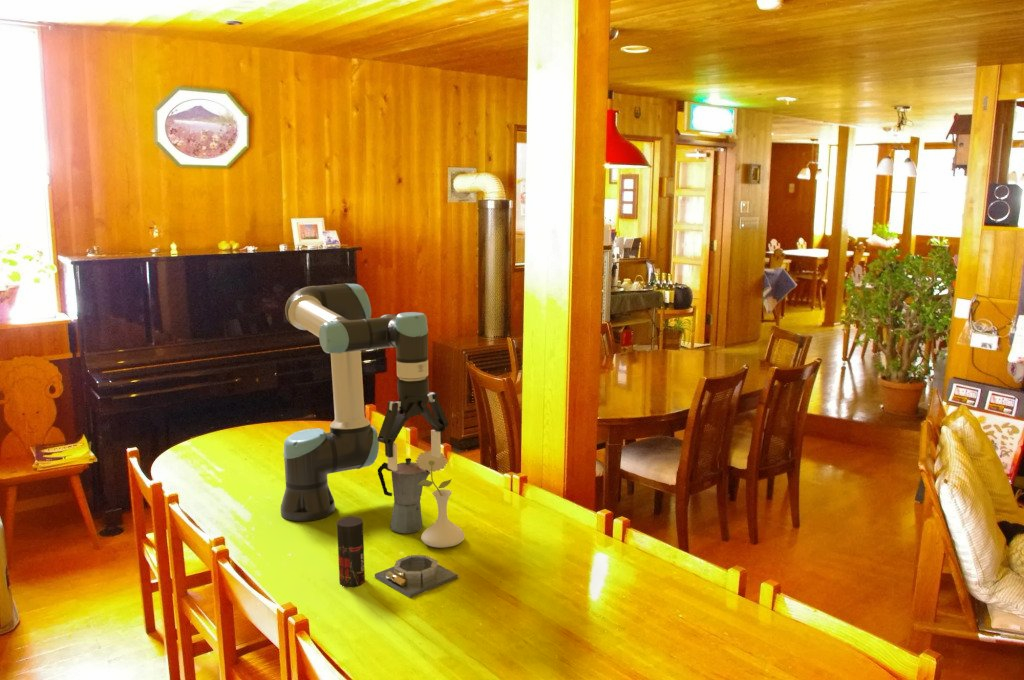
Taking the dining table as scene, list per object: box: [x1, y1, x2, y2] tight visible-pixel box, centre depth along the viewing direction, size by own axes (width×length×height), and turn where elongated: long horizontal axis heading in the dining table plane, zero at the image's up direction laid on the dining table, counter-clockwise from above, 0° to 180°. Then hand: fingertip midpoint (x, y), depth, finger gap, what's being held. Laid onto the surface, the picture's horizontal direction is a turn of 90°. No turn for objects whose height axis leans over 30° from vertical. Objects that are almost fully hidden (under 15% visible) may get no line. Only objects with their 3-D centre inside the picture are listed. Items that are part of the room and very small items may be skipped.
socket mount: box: [374, 554, 459, 599], centre depth 198 cm, size 14×14×4 cm
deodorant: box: [336, 516, 366, 588], centre depth 195 cm, size 6×6×15 cm
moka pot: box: [377, 457, 431, 535], centre depth 225 cm, size 10×15×20 cm, turn 78°
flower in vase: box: [415, 449, 466, 549], centre depth 216 cm, size 13×11×25 cm
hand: (414, 462), depth 202 cm, fingers open, 13 cm apart
